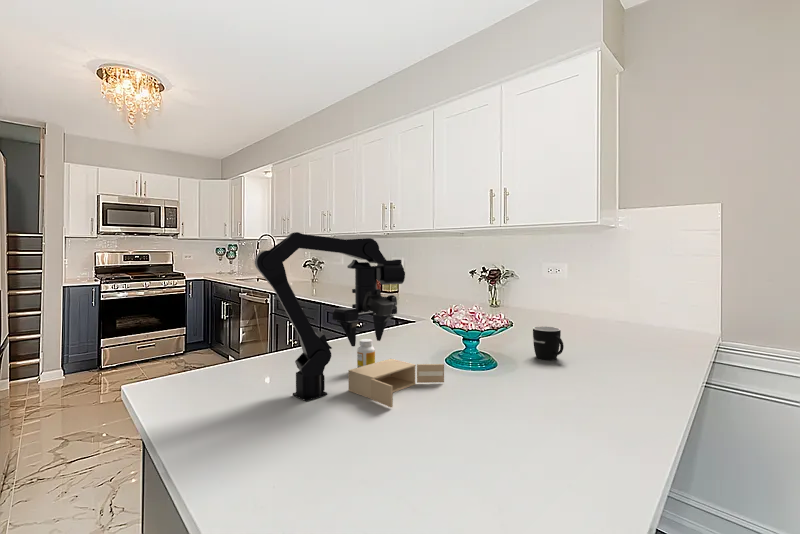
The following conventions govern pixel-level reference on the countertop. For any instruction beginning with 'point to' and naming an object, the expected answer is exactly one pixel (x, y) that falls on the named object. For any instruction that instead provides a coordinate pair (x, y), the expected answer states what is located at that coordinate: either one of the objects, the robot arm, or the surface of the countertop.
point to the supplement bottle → (365, 353)
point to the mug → (547, 342)
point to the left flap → (382, 392)
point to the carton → (381, 376)
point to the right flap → (430, 373)
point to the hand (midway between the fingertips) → (366, 343)
